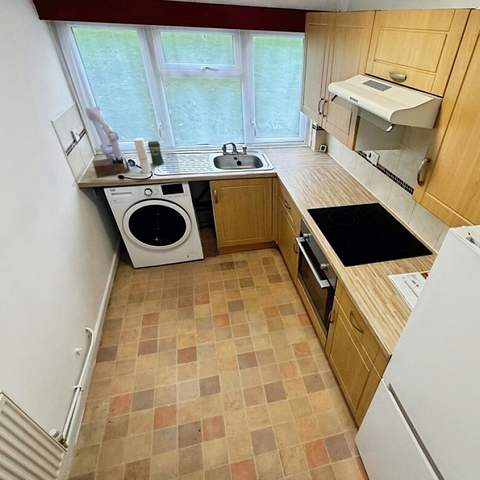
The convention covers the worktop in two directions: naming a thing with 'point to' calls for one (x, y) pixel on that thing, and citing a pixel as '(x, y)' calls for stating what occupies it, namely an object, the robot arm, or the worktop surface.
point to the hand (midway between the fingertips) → (121, 166)
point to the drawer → (121, 166)
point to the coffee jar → (155, 152)
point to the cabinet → (104, 167)
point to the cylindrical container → (142, 155)
